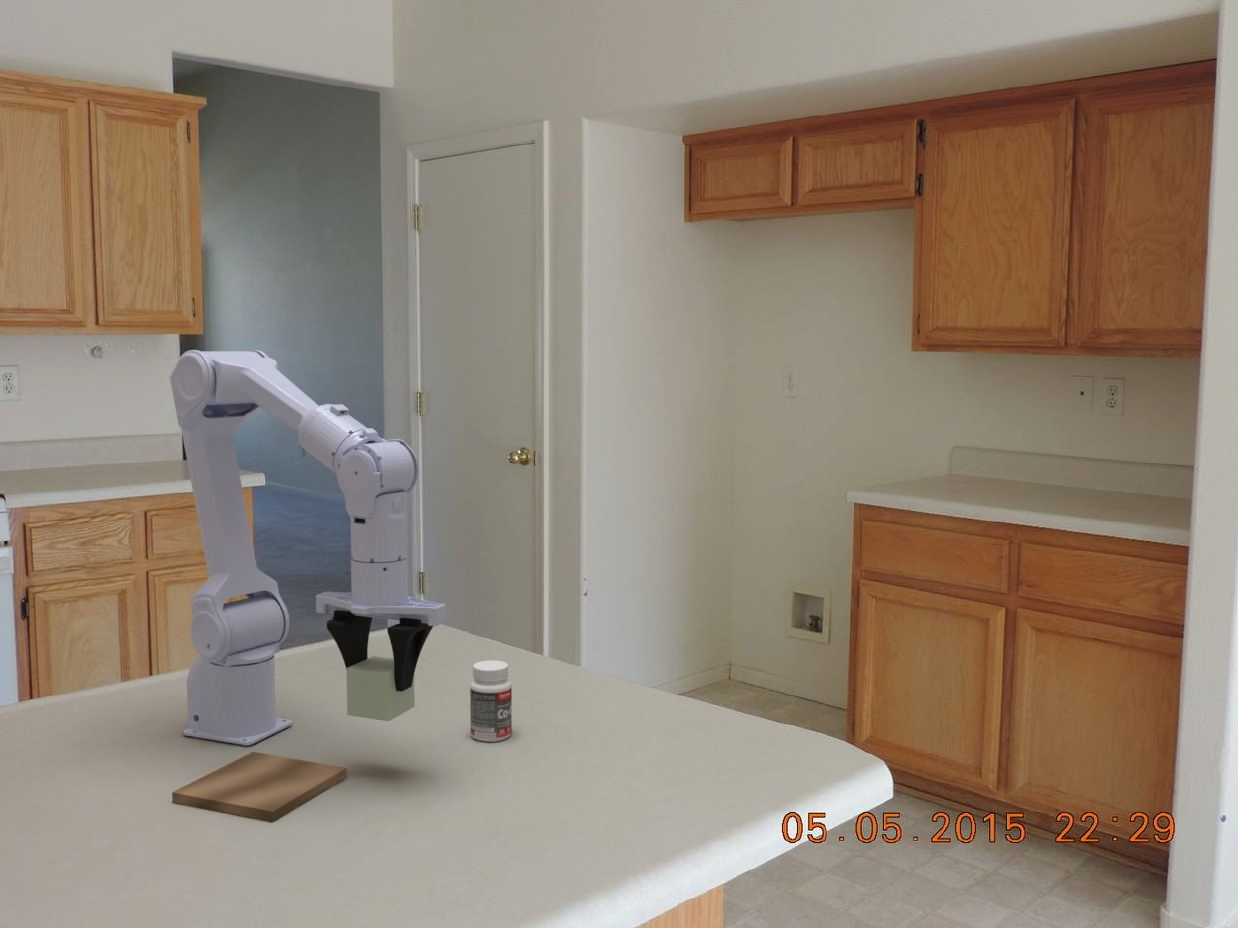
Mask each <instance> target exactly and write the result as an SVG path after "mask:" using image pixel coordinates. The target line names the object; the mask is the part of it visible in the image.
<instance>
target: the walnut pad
mask: <svg viewBox="0 0 1238 928" xmlns="http://www.w3.org/2000/svg"><path fill="white" fill-rule="evenodd" d="M347 778H348V768H347V767H344V766H338V765H333V764H332V765H331V764H326V763H321V762H316V761H315V762H314V761H309V760H303V759H296V758H291V757H285V756H280V755H275V754H267V753H262V752H256V751H252V752H250V753H247V754H246V755H243V756H242V757H240V758H237V759H235V760H234V761H232V762H230V763H227V764H225V765H223V766H222V767H220V768H217V769H216V770H214V771H212V772H210V773H208V774H206V775H204V776H202V777H200V778H198V779H196V780H194V781H192V782H190V783H188V784H186V785H184V786H182V787H180V788H178V789H176V790H174V791H172V792H171V797H172V801H171V802H172V803H175V804H180V805H184V806H190V807H196V808H201V809H205V810H209V811H210V810H211V811H216V812H221V813H226V814H231V815H236V816H241V817H247V818H251V819H255V820H256V819H257V820H261V821H267V822H271V823H272V822H275V821H277V820H279V819H280V818H282V817H284V816H285V815H286V814H288V813H290V812H291V811H293V810H295V809H296V808H298V807H300V806H302V805H303V804H305V803H306V802H308V801H309V800H311V799H313V798H315V797H316V796H318V795H319V794H321V793H323V792H325V791H326V790H327V789H330V788H331V787H333V786H334V785H336V784H337V783H340V782H341V781H343V780H345V779H347Z"/></svg>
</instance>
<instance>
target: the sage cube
mask: <svg viewBox="0 0 1238 928" xmlns="http://www.w3.org/2000/svg"><path fill="white" fill-rule="evenodd" d="M346 708H347V709H346V710H347V711H346V712H347V714H346V715H347V716H351V717H357V718H364V719H371V720H375V721H376V720H378V721H384V722H391V721H392V720H394V719H395V718H398V717H400V716H401V715H402V714H404V713H406V712H408V711H410V710H411V709H413V708H415V676H414V677H413V682H412V687H410V688H408V689H406V690H404V691H402V692H400V691H396V687H395V679H394V657H393V658H392V657H384V656H377V655H373V656H370V657H369V658H368V659H366V660H364V661H361V662H359V663H357V664H355V665H353V666H350V667H348V668H347V670H346Z"/></svg>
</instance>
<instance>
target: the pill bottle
mask: <svg viewBox="0 0 1238 928" xmlns="http://www.w3.org/2000/svg"><path fill="white" fill-rule="evenodd" d="M472 668H473V670H472V676H473V680H471V682H470V688H469V690H470V693H469V694H470V696H469V697H470V699H469V700H470V701H469V702H470V704H469V705H470V707H469V708H470V736H471V737H472V738H473V740H476V741H480V742H486V743H487V742H488V743H490V742H491V743H492V742H493V743H494V742H500V741H504V740H507V739H508V738H510V737H511V736H512V727H513V726H512V722H513V721H512V719H513V718H512V710H513V709H512V707H513V705H512V700H513V699H512V695H513V694H512V682H511V680H510V679H508V678H509V664H508V663H507V662H505V661H501V660H482V661H478V662H475V663H474V664H473V666H472Z"/></svg>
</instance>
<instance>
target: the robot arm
mask: <svg viewBox="0 0 1238 928" xmlns="http://www.w3.org/2000/svg"><path fill="white" fill-rule="evenodd" d="M169 380H170V386H171V392H172V397H173V401H174V402H173V403H174V407H175V408H174V409H175V413H176V418H177V424H178V426H179V427H180V428H181V434H182V440H183V445H184V451H185V456H186V457H185V458H186V461H187V466H188V473H189V477H190V482H191V487H192V488H191V489H192V495H193V499H194V505H195V509H196V510H195V511H196V515H197V521H198V527H199V532H200V538H201V542H202V549H203V554H204V558H205V564H206V569H207V573H208V575H207V576H208V578H207V580H206V581H205V582H204V583H203V585H201V587H199V589H198V590H197V591H196V592H195V593H194V594H193V596H192V597H191V598H190V604H191V611H192V619H191V625H190V636H191V640H192V641H191V642H192V644H193V646H194V648H195V650H196V652H197V653H198V654H199V656H197V657H196V658H195V659H194V660H193V662H192V663H191V666H189V670H188V673H187V677H186V678H187V679H186V699H187V700H186V702H187V727H188V728H186V729H184V730H183V736H187V737H194V738H200V739H206V740H212V741H217V742H218V741H219V742H223V743H231V744H235V745H243V746H251V745H254V744H255V743H258V742H260V741H262V740H263V739H266V738H268V737H271V736H272V735H274V734H276V733H278V732H279V731H282V730H284V729H286V728H288V727H290V726H292V724H293V721H292V720H290V719H285V718H279V717H276V716H277V715H276V713H277V712H276V710H277V708H276V672H275V671H276V670H275V669H276V667H275V655H276V654H277V653H280V644H282V643H283V642H284V641H285V639H286V638H287V636H288V634H289V630H290V615H289V611H288V609H287V606H286V605H285V603H284V600H283V599H282V597H281V595H280V594H281V593H280V592H279V591H280V590H279V587H278V582H277V581H276V580H275V579H273V578H272V577H270V576H268V575H267V574H265V573H264V572H262V571H261V570H260V569H259V568H258V566H257V562H256V557H255V550H254V545H253V541H252V540H253V539H252V538H253V537H252V534H251V529H250V523H249V518H248V513H247V512H248V511H247V507H246V503H245V495H244V492H243V487H242V480H241V474H240V470H239V464H238V459H237V458H238V457H237V455H236V454H237V453H236V448H235V443H234V435H235V433H236V432H237V430H238V429H239V427H240V425H242V424H245V423H246V422H247V421H249V419H250V418H251V417H252V416H253V415H254V414H255V413H256V412H257V411H259V409H263V410H265V411H266V412H268V413H269V414H271V415H272V416H274V417H275V418H277V419H278V420H280V421H281V422H283V423H285V424H286V425H287V426H289V427H290V428H293V429H294V430H296V431H297V432H298V433H297V437H298V442H299V445H300V446H301V448H302V449H304V451H306V452H307V453H308V454H310V455H311V456H313V457H314V458H315V459H316V460H318V462H321V463H322V465H324V466H325V467H327V468H328V469H329V470H331V471H332V472H333V473H334V474H336V479H337V483H338V486H339V488H340V490H341V492H342V493H343V496H344V500H345V511H347V515H348V516H349V517H350V556H351V557H350V565H351V566H350V571H351V574H350V576H351V577H350V578H351V580H350V581H351V587H350V588H351V592H340V591H338V592H337V591H324V592H321V593H319V594H316V595H315V607H316V608H315V610H316V611H315V612H316V614H324V615H325V614H328V613H331V614H333V616H332V619H330V620H328V621H326V629H327V631H328V632H329V633H330V635H331V637H332V639H334V641H335V644H336V645H337V647H338V650H339V652H340V654H341V658H342V659H343V663H344V666H345V669H346V671H347V668H348V667H350V666H353V665H355V664H357V663H359V662H361V661H364V660H366V659H368V651H369V650H368V648H369V639H370V638H369V637H370V631H371V626H372V621H373V618H375V619H385V620H392V621H399V623H395V624H393V625H390V626H388V627H387V629H386V630H387V635H388V638H389V641H390V645H391V649H392V656H393V658H394V679H395V687H396V691H400V692H402V691H404V690H406V689H408V688H410V687H412V682H413V677H414V678H415V672H416V667H417V665H418V660H419V658H420V655H421V651H422V650H423V647H424V645H425V643H426V640H427V639H428V636H430V633H431V631H432V630H433V627H438V626H440V625H443V624H444V623H446V620H447V619H446V617H447V616H446V613H447V611H446V603H440V602H433V601H429V600H425V599H422V598H417V597H412V596H409V595H408V593H409V591H408V588H409V587H408V585H409V584H408V504H407V503H408V495H407V494H408V493H410V492H411V491H412V490H413V489H414V487H415V485H416V484H417V481H418V478H419V472H420V471H419V463H418V458H417V456H416V454H415V452H414V451H413V449H412V448H411V447H410V446H409V445H408V444H407V443H406V442H405V440H403V439H399V438H393V439H388V440H387V439H385V438H382V437H380V436H379V433H378V432H377V430H375V429H374V428H372V427H370V428H367V427H366V426H365V425H364V424H363V423H361V422H360V421H358V420H357V419H355V418H354V417H352V416H351V415H350V414H349V411H350V409H349V408H348V407H347V406H345V405H344V404H342V403H341V404H331V403H325V404H320V405H318V404H317V403H316V402H315V401H314V400H313V399H312V398H310V397H309V396H308V395H307V394H306V393H305V392H303V391H302V390H301V388H299V387H298V386H297V385H296V384H295V383H293V381H291V380H290V379H288V378H287V376H285V375H284V374H282V372H281V371H280V368H279V364H278V361H277V360H275V359H273V358H271V357H269V356H268V355H267V354H266V353H265V352H263V351H262V350H259V349H258V350H257V349H252V350H245V351H243V350H241V351H238V350H237V351H235V350H233V351H230V350H226V351H225V350H224V351H223V350H222V351H220V350H219V351H218V350H217V351H216V350H215V351H213V350H212V351H208V350H207V351H204V350H201V351H200V350H198V349H192V350H191V349H189V350H186V351H184V353H182V355H180V356H179V359H178V360H177V362H176V365H175V366H174V368H173V370H172V372H171V374H170V376H169ZM240 596H245V597H247V598H243V599H238V600H234V601H229V602H228V600H230V599H231V598H235V597H240Z"/></svg>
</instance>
